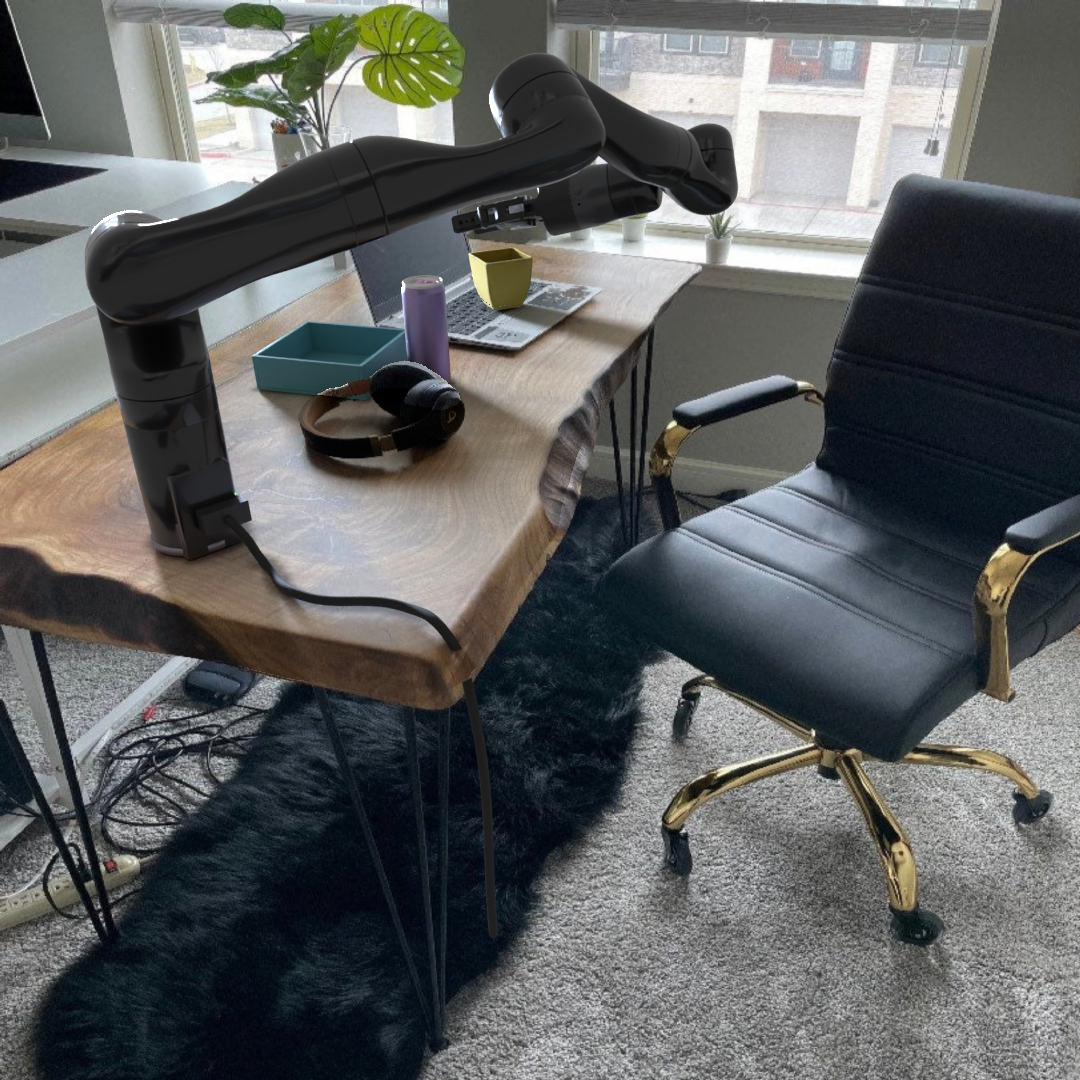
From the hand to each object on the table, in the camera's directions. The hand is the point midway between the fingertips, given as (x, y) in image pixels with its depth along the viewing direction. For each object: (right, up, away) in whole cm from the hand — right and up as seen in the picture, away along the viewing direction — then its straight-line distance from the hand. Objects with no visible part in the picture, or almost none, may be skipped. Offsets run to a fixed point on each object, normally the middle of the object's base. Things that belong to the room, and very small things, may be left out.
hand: (464, 226), depth 133 cm
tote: (-20, -17, +14) cm, 30 cm away
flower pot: (+4, -1, +42) cm, 42 cm away
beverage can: (-6, -20, +11) cm, 23 cm away
